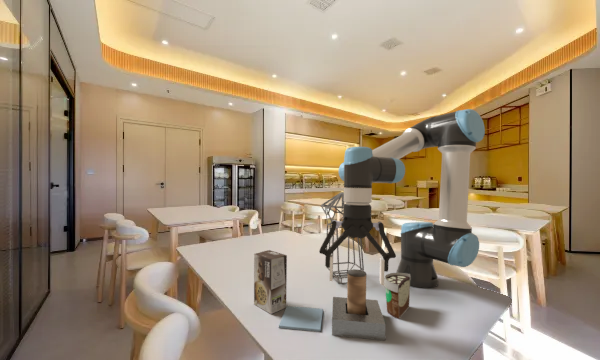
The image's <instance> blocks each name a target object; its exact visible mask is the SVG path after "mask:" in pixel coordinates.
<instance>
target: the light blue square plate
mask: <svg viewBox="0 0 600 360" xmlns="http://www.w3.org/2000/svg"><path fill="white" fill-rule="evenodd" d="M284 309H285V310H284V311H283V314H282V316H281V320H280V322H279V324H278V328H279V329H285V330H299V331H307V332H308V331H309V332H319V333H321V330H322V322H323V320H322V319H323V312H324V309H323V308H316V307H305V306H293V305H292V306H290V305H286V308H284Z"/></svg>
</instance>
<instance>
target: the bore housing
mask: <svg viewBox="0 0 600 360" xmlns="http://www.w3.org/2000/svg"><path fill="white" fill-rule="evenodd" d="M331 313H332V314H331V318H332V319H331V336H335V337H337V336H338V337H347V338H354V339H355V338H356V339H364V340H365V339H366V340H377V341H378V340H379V341H386V322H385V318H384V315H383V313H382V310H381V307H380V304H379V301H378V300H377V299H369V298H368V299H367V298H366V315H359V314H347V297H341V296H340V297H339V296H333V297H332V312H331Z"/></svg>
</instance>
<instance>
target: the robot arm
mask: <svg viewBox="0 0 600 360" xmlns="http://www.w3.org/2000/svg"><path fill="white" fill-rule="evenodd" d="M485 129H486V128H485V124H484V120H483V118H482V116H481V115H480V114H479V112H478V111H476V110H474V109H471V108H467V109H460V110H455V111H452V112H448V113H443V114H439V115H435V116H430V117H428V118H426V119H423V120H422V121H419V122H417V123H416V124H413V126H410V127H408V128H407V129H405V130H404V131H403V132H402V134H401V135H399V136H398V137H395V138H393V139H391V140H389V141H387V142H385V143H383V144H382V145H380V146H378V147H376V148H373V149H372V148H371V147H368V146H352V147H347V148H346V149H345V151H344V157H343V162H342V163H341V164H339V167H338V176H339V178H340V179H341V180H342V181H343V192H344V208H343V212H342V213H343V215H342V217H343V218H342V220H341V221H340V220H336V219H333V221H332V224H331V225H332V226H331V229H330V228H329V230H328V235H327V234H326V236H327V237H325V238H324V241H323V242H322V245H321V246H320V248H319V254H321V255H324V257H325V259H326V266H325V268H326V269H328V268H329V269H330V271H329V282H333V277H334V276H333V275H334V274H333V271H334V269H333V268H334V264H333V263H334V252H335V251H337V247H338V248H339V247H340V245H341V244H342V243H343V242H344V241H345V240H346V239H348V236H349V238H351V239H352V238H354V239H356V238H359V239H360V238H361V239H364V238H367V240H368V241H369V242H370V243H371V244H372V246H374V248H375V249H376V250H377V252H378V253H379V254H380V255H381V257H379V283H380V285H381V286H384V278H385V272H386V273H387V272H388V271H389V262H390V259H395V258H396V256H397V255H396V252H395V250H394V248H393V247H392V244H391V241H390V239H389V238H388V236H387V235H386V232H385V229H384V228H385V227H384V223H383V222H382V221H377V222H372V206H371V205H372V204H370V203H372V202H373V201H372V200H373V199H372V197H373V195H372V193H373V192H372V191H373V184H396V183H399V182H401V181H402V180H403V179H404V176H405V173H406V167H405V164H404V162H403V161H402V160H401V159H402V158H403V157H405V156H407V155H409V154H411V153H412V152H413V153H415V152H420V151H421V150H424V149H427V148H428V149H429V148H435V147H436V148H437V150H438V151H439V152H440V153H441V169H440V170H441V172H440V189H439V207H438V209H439V210H438V219H437V220H436V221H435V222H430V221H420V222H419V221H418V222H417V221H415V222H414V221H413V222H412V221H411V222H405V223H402V225H401V230H400V231H401V232H400V262H399V264H398V266H397V269H396V272H395V273H407V274H410V276H411V280H410V287H415V288H422V289H423V288H425V289H429V288H430V289H431V288H435V287H437V286H438V285H439V277H438V273H437V270H436V268H435V265H434V261H438V262H441V263H445V264H448V265H450V266H455V267H456V266H457V267H460V268H466V267H468V266H470V265H472V264H473V263H474V261H475V260H476V258H477V256H478V255H479V251H480V240H479V237H478V236H477V235H476V234H475V233H473V232H472V231H473V228H472V226H471V225H470V224H469V223H468V207H469V206H468V205H469V190H470V189H469V188H470V187H469V186H470V185H469V184H470V167H471V166H470V165H471V154H472V152H474V151H475V150H476V148H477V143H480V142H482V140H483V139H484V137H485V132H486V130H485ZM339 227H343V228H342V229H343V230H344V231H343V232H342V233H341V234H340V235H339V236H338V239H337V238H336V240H334V243H333V244H332V243H331V244H330V248H329V247H328V246H329V241H330V242H331V239H332V236H333V234H334V235H335V232H336V229H340V228H339ZM373 228H375V230H376V231H378V233H379V235H380V238H381V239H382V242H383V243H384V246H385V247H386V250H387V252H386V251H385V250H384V248H382V247H381V245H380V244H379V243H378V242H377V240H376V239H375V238H374V236H372V234H371V233H370V232H371V231H372V229H373ZM326 247H327V249H326ZM332 253H333V255H332Z"/></svg>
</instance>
